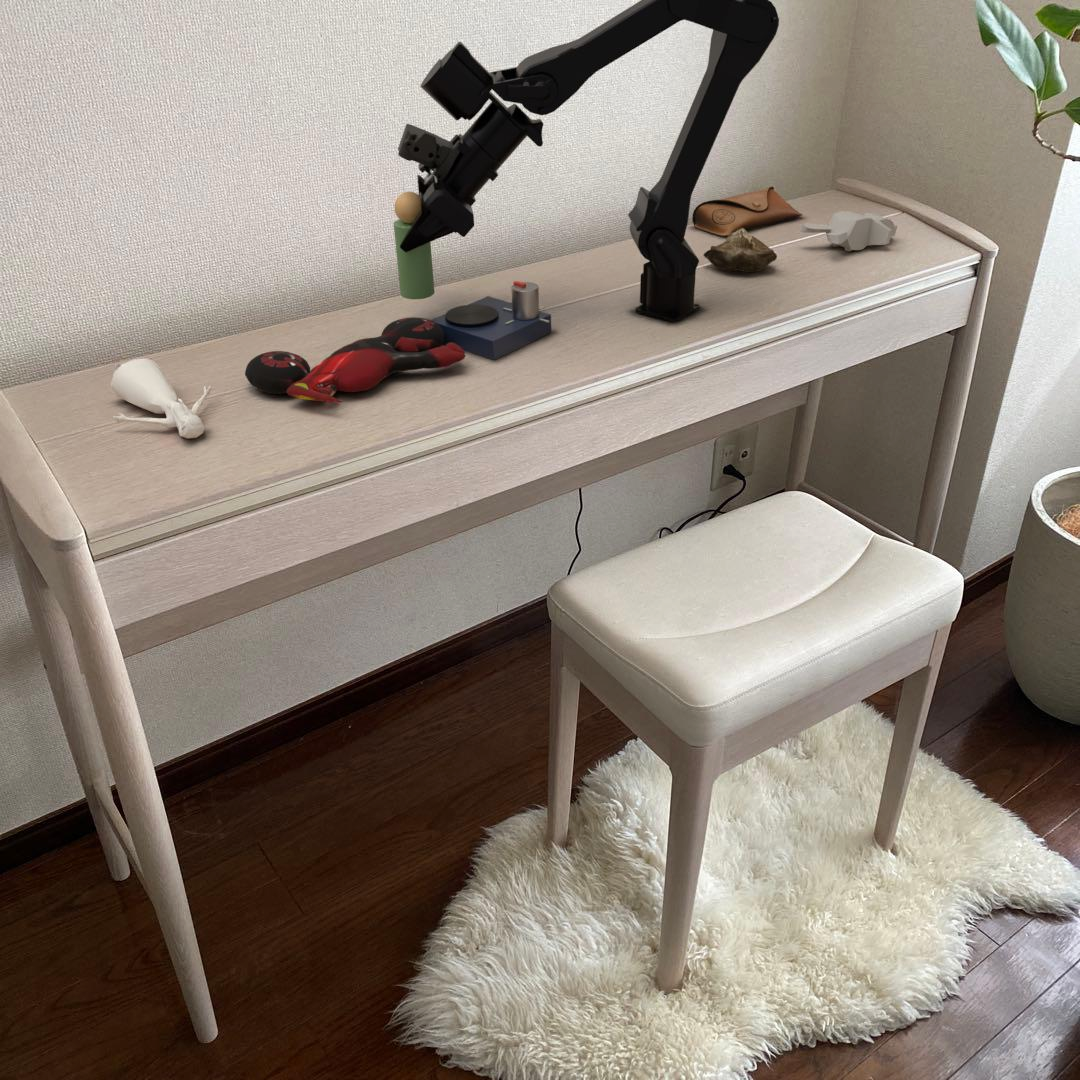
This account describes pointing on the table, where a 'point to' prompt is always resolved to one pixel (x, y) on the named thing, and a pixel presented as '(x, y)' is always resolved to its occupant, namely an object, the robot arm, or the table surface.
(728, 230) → the sunglasses case
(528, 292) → the stove knob
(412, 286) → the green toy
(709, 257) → the fossilized seashell
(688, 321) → the table surface
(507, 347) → the hot plate
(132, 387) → the woman figurine
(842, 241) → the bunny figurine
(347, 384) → the toy motorcycle
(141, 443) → the table surface
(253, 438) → the table surface
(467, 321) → the burner plate
